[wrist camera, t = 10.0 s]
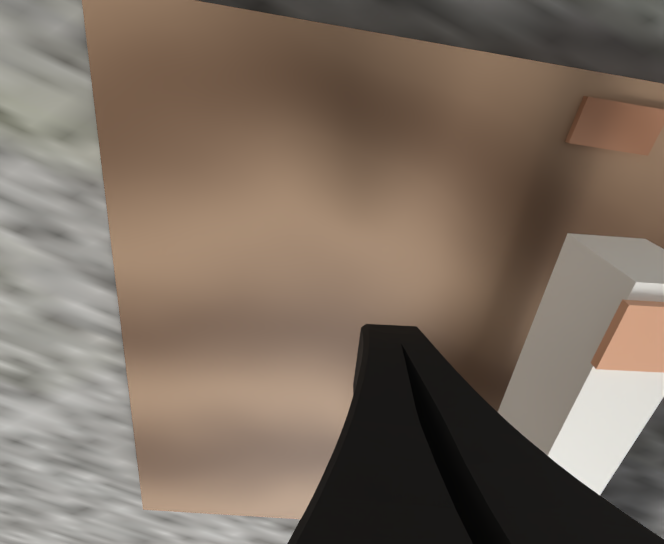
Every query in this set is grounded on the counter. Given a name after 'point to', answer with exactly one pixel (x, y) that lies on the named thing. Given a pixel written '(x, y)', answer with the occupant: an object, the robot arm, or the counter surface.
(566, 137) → the board
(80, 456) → the counter surface
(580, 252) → the white long piece
